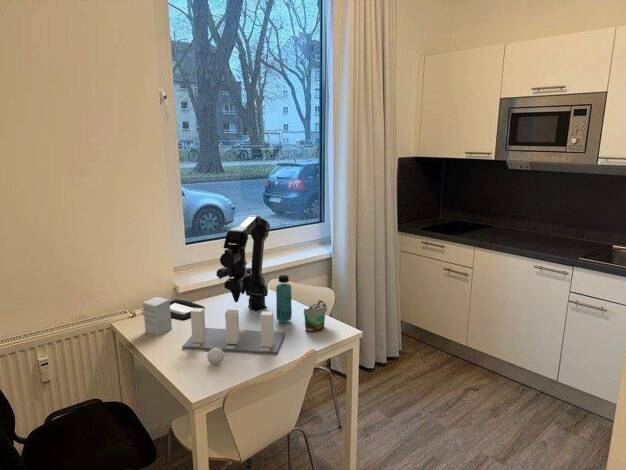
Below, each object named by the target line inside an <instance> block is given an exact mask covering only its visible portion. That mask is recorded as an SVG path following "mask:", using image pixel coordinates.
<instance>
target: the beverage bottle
mask: <svg viewBox="0 0 626 470" xmlns="http://www.w3.org/2000/svg"><path fill="white" fill-rule="evenodd" d="M289 281H290V279H289V276H288V275H285V274H282V275H279V277H278V284H277V285H276V287H275V288H276V289H275V290H276V306H275V307H276V312H275V314H276V320H277V321H278V322H290V321H291V320H292V315H293V313H292V285H291V284H290V283H288V282H289Z"/></svg>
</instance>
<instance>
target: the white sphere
mask: <svg viewBox="0 0 626 470" xmlns="http://www.w3.org/2000/svg"><path fill="white" fill-rule="evenodd" d="M206 357H207V360H208V361H207V362H208V363H210V364H211V365H214V366H215V365H220V364H221V363H222V362H223V361H224V358H225V353H224V352H223V351H222V350H221V349H220V348H212V349H211V350H210V351H208V352H207V355H206ZM203 358H204V356H203V357H201V359H203Z"/></svg>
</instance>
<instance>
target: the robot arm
mask: <svg viewBox="0 0 626 470" xmlns="http://www.w3.org/2000/svg"><path fill="white" fill-rule="evenodd" d="M270 230H271V226H270V223H269V222H268V221H267V220H266V219H264V218H262V216H261V215H258V214H250V215H248V216H247V218H245V220H244V221H243V222H242V223H241V224H239V225H238V226H235V227H232V228H230V229H229V230H228V231H227V233H226V235H225V240H224V243H223V249H224V253H222V254H221V256H220V258H219V262H220V265H221V266H222V267H220V268H218V269H217V270H216V274H215V275H216V277H217V278H218V279H219V280H221V279H223V278H226V277H228V278H227V280H226V281H225V282H223V285H224V289H226V290H229V291H230V293H231V295H232V298H233V300H234V301H233V302H234V303H238V302H239V299H240V296H241V295H244V294H245V296H246V297H247V296H248V297H249V298H248V305H247V308H249V309H250V310H252V311H254V312H257V311H260V310H263V309H264V310H265V309H267V308H268V307H267V306H266V297H267V296H268V293H269V291H268V290H269V288H268V287H267V284H265V282H266V280H265V277H264V275H263V274H262V273H263V261H264V246H265V241H266V240H267V238H268V237H269V232H270ZM249 234H250V236H251V239H252V240H253V241H252V255H251V267H246V266H247V265H248V262H247V261H246V247H247V243H248V240H249Z"/></svg>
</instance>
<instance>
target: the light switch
mask: <svg viewBox="0 0 626 470" xmlns="http://www.w3.org/2000/svg"><path fill="white" fill-rule="evenodd" d="M193 308H204V310H205V309H206V308H205V306H204V305H201V304H197V303H195V302H192V301H188V300H183V299H173V300H170V311H171V319H175V320H178V321H187V319H188V320H191V310H192V309H193Z"/></svg>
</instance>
